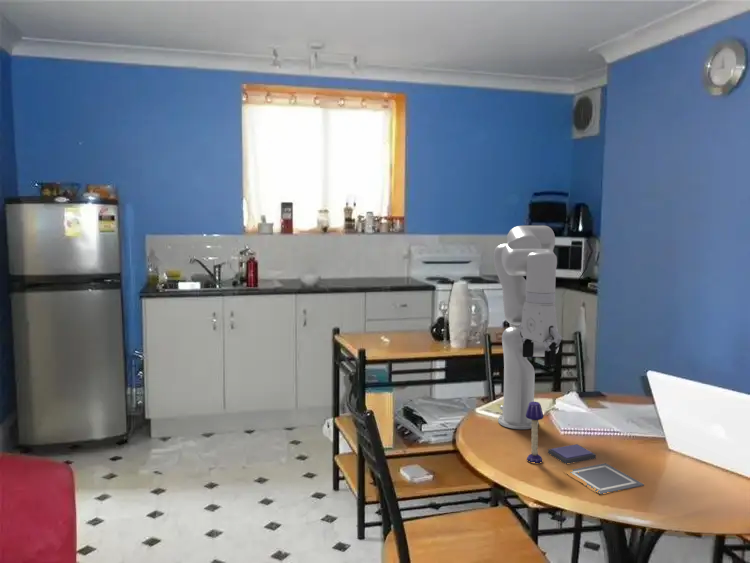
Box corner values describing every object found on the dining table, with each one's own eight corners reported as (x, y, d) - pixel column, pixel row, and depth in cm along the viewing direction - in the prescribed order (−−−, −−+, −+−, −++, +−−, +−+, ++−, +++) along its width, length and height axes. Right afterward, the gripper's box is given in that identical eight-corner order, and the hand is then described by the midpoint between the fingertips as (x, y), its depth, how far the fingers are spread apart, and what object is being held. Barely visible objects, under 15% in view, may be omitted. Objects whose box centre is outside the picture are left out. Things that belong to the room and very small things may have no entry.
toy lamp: (539, 466, 174) (540, 406, 172) (522, 462, 177) (523, 403, 174) (544, 459, 178) (546, 401, 176) (528, 456, 181) (529, 399, 179)
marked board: (563, 472, 170) (563, 470, 170) (605, 464, 175) (605, 462, 175) (599, 495, 157) (599, 493, 157) (644, 485, 162) (644, 484, 162)
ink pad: (548, 453, 183) (548, 448, 183) (576, 448, 186) (577, 443, 186) (565, 464, 175) (566, 458, 175) (595, 458, 179) (595, 453, 179)
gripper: (509, 294, 178) (508, 355, 180) (548, 304, 162) (546, 370, 164) (532, 292, 181) (531, 352, 183) (573, 302, 165) (570, 367, 167)
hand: (538, 360), depth 174 cm, fingers open, 9 cm apart
